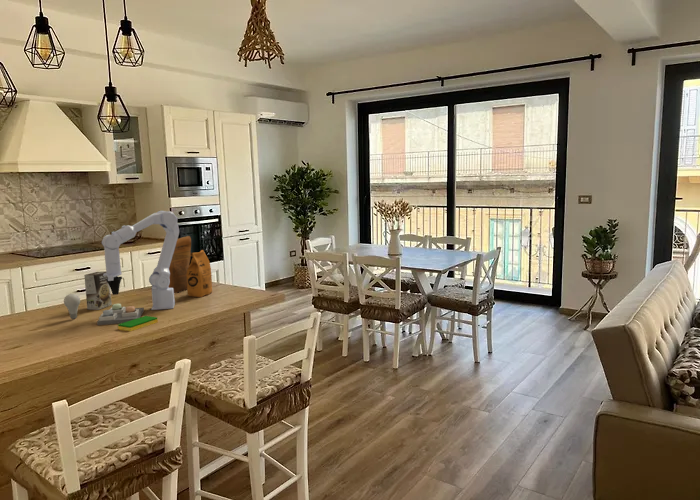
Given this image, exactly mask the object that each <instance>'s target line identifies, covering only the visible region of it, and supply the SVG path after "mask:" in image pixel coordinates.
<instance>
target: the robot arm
mask: <svg viewBox="0 0 700 500" xmlns="http://www.w3.org/2000/svg"><path fill="white" fill-rule="evenodd" d="M152 225H159V226H161V227H162V229H163V230H164V231H165V237H164V241H163V245H162V247H161V250H160V253H159V254H160V255H159V257H158V262H157V263H156V264H157V265H156V266H155V268H154V269H153V272H152V274H150V276H149V278H148V282H149V284H150V285H151V298H152V300H151V301H152V306H151V309H150V310H151V311H155V310H157V311H158V310H167V309H168V310H169V309H174V307H175V304H176V300H175V293H174V289H173V288H169V284H170V279H169V277H170V271H169V267H170V263H171V260H172V256H173V253H174V249H175V246H176V242H177V239H179V235H180V228H179V222H178V217H177V215H176V214H175V213H174V212H173V211H170V210H159V211H157V212H153V213H152V214H150V215H148V216H146V217H145V218H143V219H141V220H140V221H138V222H136V223H135V224H132V225H124V224H123V225H122V226H121V228H119V229H118V230H115V231H111V234H107V235H104V236H103V238H102V240H101V245H102V246H103V248H104V249H103V250H104V260H105V261H104V263H105V272H106V273H104V274H103V276H107V277H108V278H107V279H106V281H107V282H108V284H109V286H110V291H111V294H112V295H113V296H114V295H116V296H117V295H119V293H120V288H121V287H120V286H121V282H122V280H123V276H121V275H122V274H123V273H122V267H121V265H122V264H121V257H120V248H119V247H120V246H121V244H124V243H126V242H128V241H129V240H131V239H133V238H135V237H136V234H137V233H138V232H140V231H142V230H144V229H146V228H148V227H150V226H152Z"/></svg>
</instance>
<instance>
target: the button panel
mask: <svg viewBox="0 0 700 500" xmlns="http://www.w3.org/2000/svg"><path fill="white" fill-rule="evenodd" d="M121 308H122V309H120V310H113V315H112V316H105V317H104V316H103V313H101V315H99V316H98V320H97V321H96V323H97V326H104V325H115V324H116V325H118V324H121V323H124V322H127V321H131V320H134V319H137V318H140V317H142V315H143V313H144V311H145V308H144V307H135V312H131V313H126V306H121ZM108 310H112V307H110V309H108Z"/></svg>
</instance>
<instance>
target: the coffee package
mask: <svg viewBox="0 0 700 500" xmlns="http://www.w3.org/2000/svg"><path fill="white" fill-rule="evenodd" d="M190 255H191V257H192V258H191V259H190V263H189V267H188V270H187V275H186V277H187V290H186V291H187V292H186V293H187V295H188V297H194V298H203V297H205V296H209V295H210V294H212V293H213V285H212V284H213V282H212V281H213V280H212V279H213V277H212V276H213V275H212V267H211V263H210V260H209V258H208V256H207V255H206V253H205V251H204V249H201V250H200V251H199V252H191V254H190Z"/></svg>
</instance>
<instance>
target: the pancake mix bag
mask: <svg viewBox="0 0 700 500" xmlns="http://www.w3.org/2000/svg"><path fill="white" fill-rule="evenodd" d="M191 248H192V238H191V236H190V235H187V236H183V237H178V239H177V242H176V246H175V249H174V253H173V256H172V260H171V263H170V267H169V271H170V277H169V279H170V284H169V286H168V288H173V289H174V294H177V293H181V292H184V291H187V277H186V275H187V270H188V267H189V265H190V264H191V257H192V256H191V255H190V254H191V253H192V252H191V250H192V249H191Z"/></svg>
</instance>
